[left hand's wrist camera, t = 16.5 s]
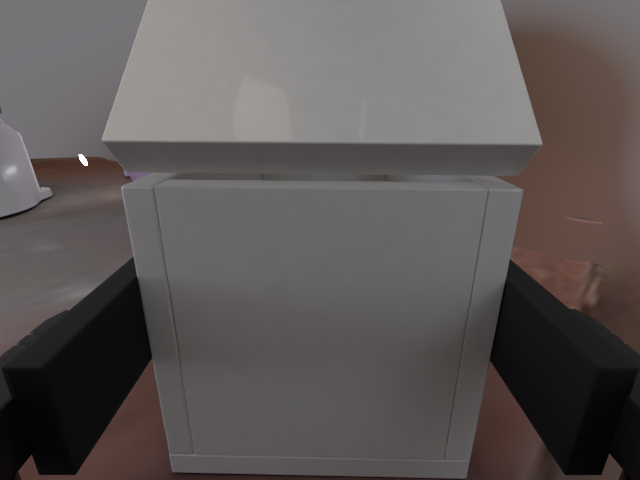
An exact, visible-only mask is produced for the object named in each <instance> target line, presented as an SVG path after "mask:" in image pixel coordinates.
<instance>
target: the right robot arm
mask: <svg viewBox="0 0 640 480" xmlns="http://www.w3.org/2000/svg"><path fill="white" fill-rule="evenodd" d="M1 112H2V111H1V108H0V113H1ZM79 157H80V160H81V161H82V163H83V164H84V165H87V160H86V159H85V158H84V157H83V156H82V155H79ZM52 195H53V194H52V192H51V189H50V188H47V187H39V185H38V182H37V179H36V176H35V173H34V170H33V167H32V164H31V162H30V159H29V156H28V153H27V150H26V147H25V145H24V142H23V139H22V137H21V135H20V134H19V133H18V132H16V131H15V130H14V129H12V128H10V127H9V126H7V125H6V124H5V123H4V122H3V121H2V119H1V118H0V217H2V216H6V215H10V214H14V213H17V212H21V211H24V210H26V209H29V208H31V207H33V206H35V205H37V204H38V203H39V202H40V201H41V200H43V199H45V198H48V197H51V196H52Z"/></svg>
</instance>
